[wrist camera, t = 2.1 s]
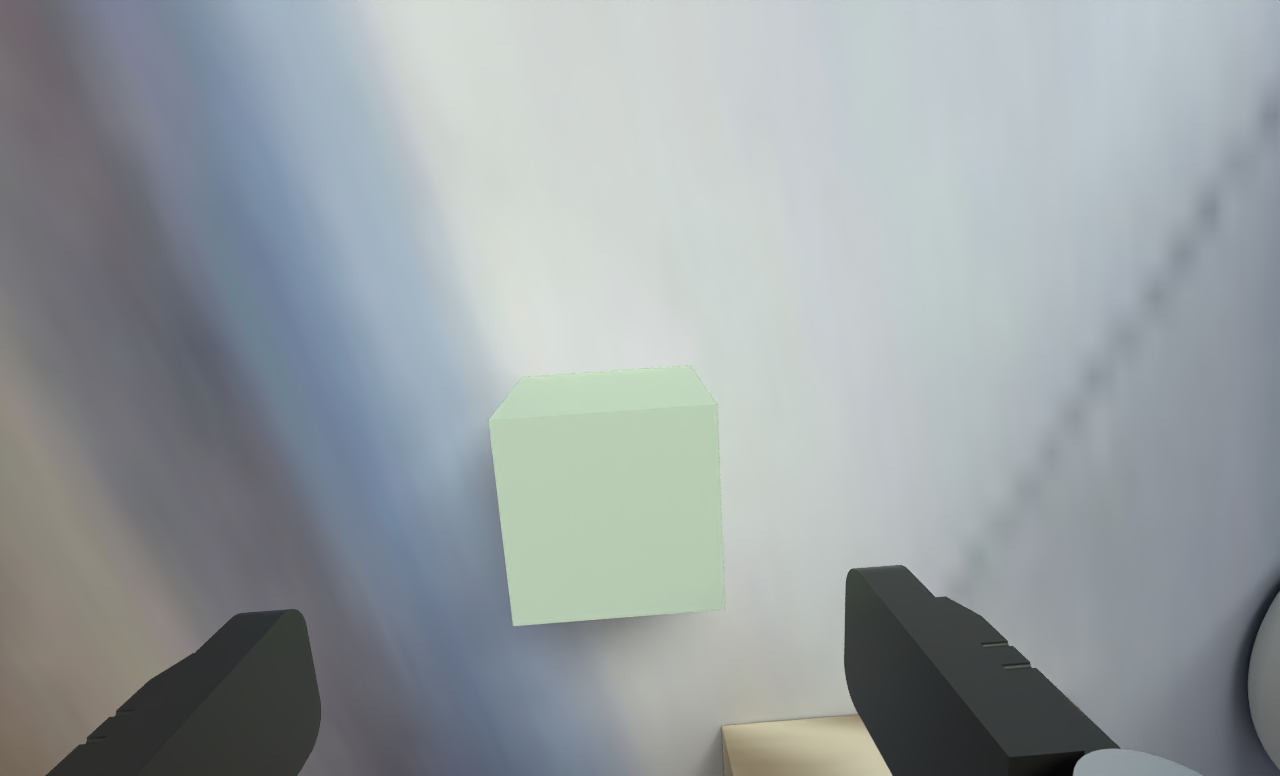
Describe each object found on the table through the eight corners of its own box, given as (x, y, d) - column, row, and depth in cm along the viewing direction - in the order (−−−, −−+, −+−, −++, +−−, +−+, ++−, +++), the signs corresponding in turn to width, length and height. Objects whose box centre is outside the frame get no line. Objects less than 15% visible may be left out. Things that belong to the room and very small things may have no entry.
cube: (690, 364, 18) (717, 404, 13) (697, 520, 19) (725, 609, 14) (523, 376, 18) (488, 420, 13) (539, 532, 19) (512, 625, 14)
